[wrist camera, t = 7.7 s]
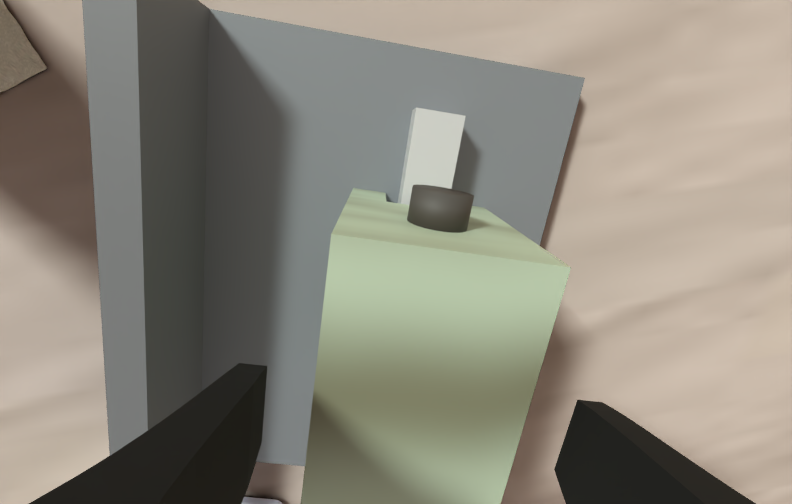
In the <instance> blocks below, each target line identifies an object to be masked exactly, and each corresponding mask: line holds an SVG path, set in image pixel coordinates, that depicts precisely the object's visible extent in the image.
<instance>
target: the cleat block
mask: <svg viewBox="0 0 792 504" xmlns="http://www.w3.org/2000/svg"><path fill="white" fill-rule="evenodd" d="M473 199H474V195H472V194H469V193H466V192H463V191H459V190H454V189H449V188H444V187H438V186H430V185H413V187H412V193H411V199H410V204H409V205H406V204H399V203H392V202H386V193H383V192H377V191H370V190H363V189H357V188H353V190H352V192H351V194H350V196H349V198H348V200H347V202H346V204H345V206H344V208H343V211H342V213H341V215H340V217H339V219H338V221H337V223H336V225H335V227H334V229H333V231H332V234H331V241H330V250H329V259H328V267H327V276H326V285H325V294H324V303H323V312H322V320H321V329H320V338H319V347H318V356H317V365H316V373H315V382H314V391H313V400H312V409H311V418H310V427H309V435H308V444H307V453H306V462H305V471H304V480H303V488H302V497H301V504H501V501H502V497H503V494H504V491H505V487H506V484H507V481H508V477H509V474H510V471H511V467H512V464H513V461H514V457H515V454H516V450H517V447H518V444H519V440H520V437H521V434H522V430H523V427H524V424H525V420H526V417H527V414H528V410H529V407H530V403H531V400H532V397H533V393H534V390H535V387H536V383H537V380H538V377H539V373H540V370H541V367H542V363H543V360H544V356H545V353H546V350H547V346H548V343H549V340H550V336H551V333H552V330H553V326H554V323H555V320H556V316H557V313H558V309H559V306H560V303H561V299H562V296H563V293H564V289H565V286H566V283H567V279H568V276H569V273H570V269H571V267H569V266H568V265H567V264H565V263H564V262H562V261H561V260H559V259H558V258H556V257H555V256H554V255H552V254H551V253H549V252H548V251H546V250H545V249H543V248H542V247H540V246H539V245H538V244H536V243H535V242H533V241H532V240H530V239H529V238H527V237H526V236H525V235H523V234H522V233H520V232H519V231H517V230H516V229H514V228H513V227H511V226H510V225H509V224H507V223H506V222H504V221H503V220H501V219H500V218H498V217H497V216H496V215H494V214H493V213H491V212H490V211H488V210H487V209H485V208H483V207H476V206H472V204H473Z"/></svg>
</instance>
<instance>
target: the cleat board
mask: <svg viewBox="0 0 792 504" xmlns="http://www.w3.org/2000/svg"><path fill="white" fill-rule="evenodd" d="M82 4H83V21H84V37H85V54H86V70H87V87H88V103H89V120H90V136H91V153H92V169H93V186H94V202H95V219H96V235H97V252H98V268H99V285H100V301H101V318H102V334H103V351H104V367H105V384H106V400H107V417H108V433H109V450H110V455H112V454H113V453H115V452H116V451H118V450H119V449H121V448H122V447H124V446H125V445H127V444H128V443H130V442H131V441H133V440H134V439H136V438H137V437H139V436H140V435H142V434H143V433H145V432H146V431H148V430H149V429H151V428H152V427H154V426H155V425H156V424H158V423H159V422H161V421H162V420H163V419H165V418H166V417H168V416H169V415H170V414H172V413H173V412H174V411H176V410H177V409H178V408H180V407H181V406H183V405H184V404H185V403H187V402H188V401H189V400H191V399H192V398H193V397H195V396H196V395H197V394H199V393H200V392H201V391H203V390H204V389H205V388H207V387H208V386H209V385H211V384H212V383H213V382H214V381H216V380H217V379H218V378H220V377H221V376H222V375H224V374H225V373H226V372H227V371H229V370H230V369H232V368H233V367H234V366H236V365H237V364H238V363H244V364H253V365H263V366H267V378H266V391H265V405H264V418H263V432H262V443H261V446H260V450H259V453H258V456H257V460H256V462H263V463H274V464H286V465H297V466H305V462H306V453H307V444H308V435H309V427H310V418H311V409H312V400H313V391H314V382H315V373H316V365H317V356H318V347H319V338H320V329H321V320H322V312H323V303H324V294H325V285H326V276H327V267H328V259H329V250H330V241H331V234H332V231H333V229H334V227H335V225H336V223H337V221H338V219H339V217H340V215H341V213H342V211H343V208H344V206H345V204H346V202H347V200H348V198H349V196H350V194H351V192H352V190H353V188H357V189H363V190H370V191H377V192H383V193H386V202H392V203H399V204H406V205H409V204H410V199H411V193H412V187H413V185H430V186H438V187H444V188H449V189H454V190H459V191H463V192H466V193H469V194H472V195H474V199H473V204H472V206H476V207H483V208H485V209H487V210H488V211H490V212H491V213H493V214H494V215H496V216H497V217H498V218H500V219H501V220H503V221H504V222H506V223H507V224H509V225H510V226H511V227H513V228H514V229H516V230H517V231H519V232H520V233H522V234H523V235H525V236H526V237H527V238H529V239H530V240H532V241H533V242H535V243H536V244H538V245H539V246H540V242H541V239H542V235H543V231H544V228H545V224H546V220H547V216H548V213H549V209H550V205H551V202H552V198H553V194H554V190H555V187H556V183H557V179H558V176H559V172H560V168H561V164H562V161H563V157H564V153H565V150H566V146H567V142H568V139H569V135H570V131H571V127H572V124H573V120H574V116H575V113H576V109H577V105H578V101H579V98H580V94H581V90H582V87H583V83H584V79H585V78H582V77H576V76H571V75H565V74H560V73H554V72H549V71H543V70H538V69H533V68H527V67H522V66H516V65H511V64H505V63H500V62H495V61H489V60H484V59H478V58H473V57H467V56H462V55H457V54H451V53H446V52H440V51H435V50H429V49H424V48H418V47H413V46H408V45H402V44H397V43H391V42H386V41H380V40H375V39H370V38H364V37H359V36H353V35H348V34H342V33H337V32H331V31H326V30H321V29H315V28H310V27H304V26H299V25H293V24H288V23H283V22H277V21H272V20H266V19H261V18H255V17H250V16H244V15H239V14H234V13H228V12H223V11H217V10H212V9H209V8H207V7H206V6H205V5H203V4H202V3H200V2H199V1H198V0H82Z"/></svg>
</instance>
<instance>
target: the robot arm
mask: <svg viewBox="0 0 792 504" xmlns="http://www.w3.org/2000/svg"><path fill="white" fill-rule="evenodd" d="M266 378H267V366H263V365H253V364H244V363H238V364H237V365H236V366H234V367H233V368H232V369H230V370H229V371H227V372H226V373H225V374H224V375H222V376H221V377H220V378H218V379H217V380H216V381H214V382H213V383H212V384H211V385H209V386H208V387H207V388H205V389H204V390H203V391H201V392H200V393H199V394H197V395H196V396H195V397H193V398H192V399H191V400H189V401H188V402H187V403H185V404H184V405H183V406H181V407H180V408H178V409H177V410H176V411H174V412H173V413H172V414H170V415H169V416H168V417H166V418H165V419H163V420H162V421H161V422H159V423H158V424H156V425H155V426H154V427H152V428H151V429H149V430H148V431H146V432H145V433H143V434H142V435H140V436H139V437H137V438H136V439H134V440H133V441H131V442H130V443H128V444H127V445H125V446H124V447H122V448H121V449H119V450H118V451H116V452H115V453H113V454H112V455H110V456H109V457H107V458H106V459H104V460H102V461H101V462H99V463H98V464H96V465H94V466H93V467H91V468H89V469H88V470H86V471H84V472H83V473H81V474H80V475H78V476H76V477H75V478H73V479H71V480H69V481H68V482H66V483H64V484H62V485H61V486H59V487H57V488H55V489H54V490H52V491H50V492H48V493H47V494H45V495H43V496H41V497H40V498H38V499H36V500H35V501H33V502H31V503H29V504H282V502H280V501H279V500H275V499H264V498H252V497H244V496H245V494H246V491H247V488H248V485H249V482H250V479H251V476H252V473H253V469H254V466H255V463H256V460H257V456H258V453H259V450H260V446H261V443H262V432H263V418H264V405H265V391H266ZM554 470H555V473H556V476H557V479H558V482H559V485H560V488H561V491H562V494H563V496H564V499H565V502H566V504H756V503H754V502H752V501H751V500H749V499H748V498H746V497H745V496H743V495H741V494H740V493H738V492H737V491H735V490H734V489H732V488H731V487H729V486H728V485H726V484H725V483H723V482H722V481H720V480H719V479H717V478H716V477H714V476H713V475H711V474H710V473H708V472H707V471H705V470H704V469H702V468H701V467H699V466H698V465H696V464H695V463H693V462H692V461H690V460H689V459H688V458H686V457H685V456H683V455H682V454H680V453H679V452H677V451H676V450H674V449H673V448H672V447H670V446H669V445H667V444H666V443H664V442H663V441H661V440H660V439H658V438H657V437H655V436H654V435H653V434H651V433H650V432H648V431H647V430H645V429H644V428H642V427H641V426H639V425H638V424H636V423H635V422H633V421H632V420H630V419H629V418H627V417H626V416H624V415H622V414H621V413H619V412H618V411H616V410H614V409H613V408H611V407H609V406H608V405H606V404H604V403H602V402H593V401H584V400H577V403H576V406H575V409H574V412H573V415H572V418H571V421H570V424H569V427H568V430H567V433H566V436H565V439H564V442H563V445H562V448H561V451H560V454H559V457H558V460H557V463H556V466H555V469H554Z"/></svg>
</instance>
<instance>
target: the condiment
mask: <svg viewBox="0 0 792 504" xmlns="http://www.w3.org/2000/svg"><path fill="white" fill-rule="evenodd" d="M45 69H47V67H46V66H45V64H44V63H43V61H42V60H41V58H40V56H39V55H38V53H37V52H36V51H35V50H34V48H33V47H32V45H31V44H30V42H29V41H28V39H27V37H26V36H25V34H24V32H23V30H22V28H21V27H20V25H19V24H18V23H17V21H16V20H15V18H14V17H13V16H12V15H11V13H10V12H9V11H8V9H7V8H6V6H5V4H4V2H3V0H0V93H1V92H3V91H5V90H8V89H10V88H12V87H14V86H16V85H18V84H19V83H20V82H22V81H24V80H26V79H28V78H30V77H31V76H33V75H35V74H37V73H39V72H41V71H43V70H45Z"/></svg>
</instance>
